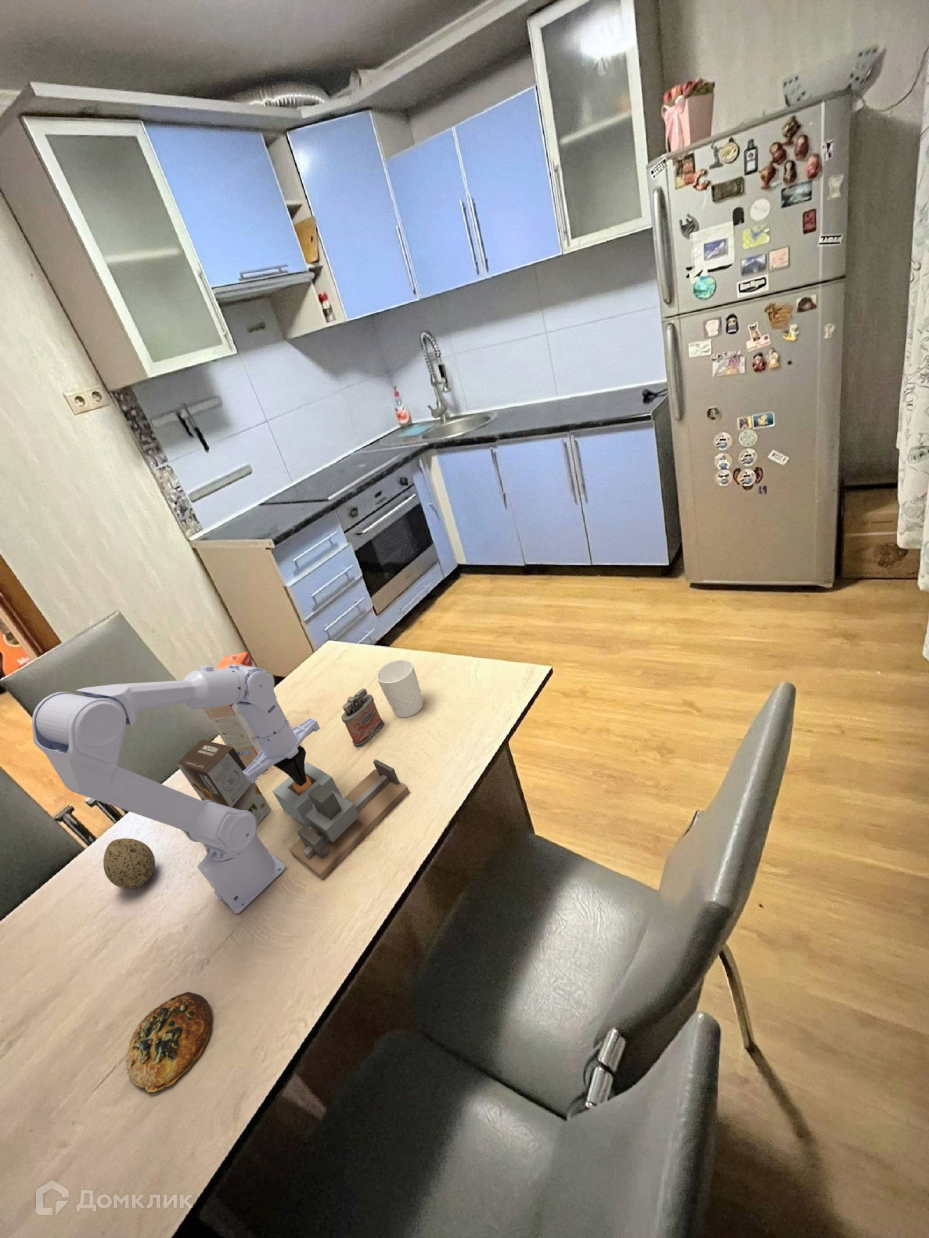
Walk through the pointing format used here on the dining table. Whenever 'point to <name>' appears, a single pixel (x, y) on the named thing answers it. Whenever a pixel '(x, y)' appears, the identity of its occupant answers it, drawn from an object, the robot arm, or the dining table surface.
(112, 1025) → the dining table surface
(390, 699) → the white cup
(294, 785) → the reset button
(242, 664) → the cracker box
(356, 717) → the lighter
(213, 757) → the coffee box
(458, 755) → the dining table surface
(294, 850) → the rail
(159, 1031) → the bread roll
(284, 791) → the box
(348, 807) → the carriage
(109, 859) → the decorative egg
